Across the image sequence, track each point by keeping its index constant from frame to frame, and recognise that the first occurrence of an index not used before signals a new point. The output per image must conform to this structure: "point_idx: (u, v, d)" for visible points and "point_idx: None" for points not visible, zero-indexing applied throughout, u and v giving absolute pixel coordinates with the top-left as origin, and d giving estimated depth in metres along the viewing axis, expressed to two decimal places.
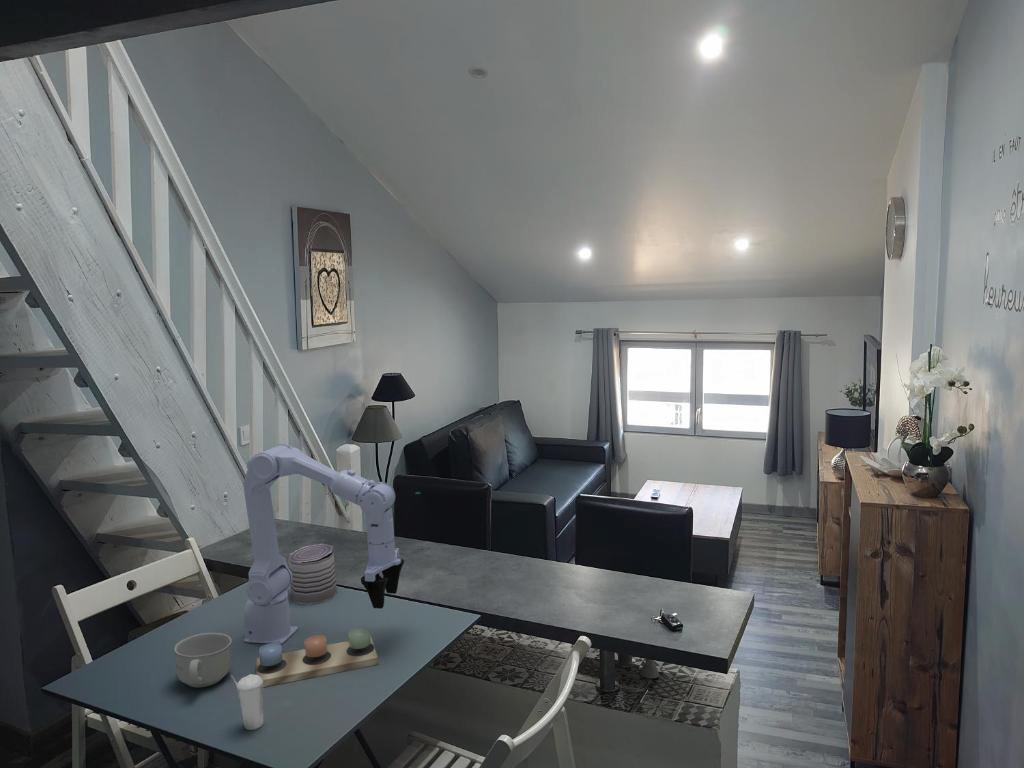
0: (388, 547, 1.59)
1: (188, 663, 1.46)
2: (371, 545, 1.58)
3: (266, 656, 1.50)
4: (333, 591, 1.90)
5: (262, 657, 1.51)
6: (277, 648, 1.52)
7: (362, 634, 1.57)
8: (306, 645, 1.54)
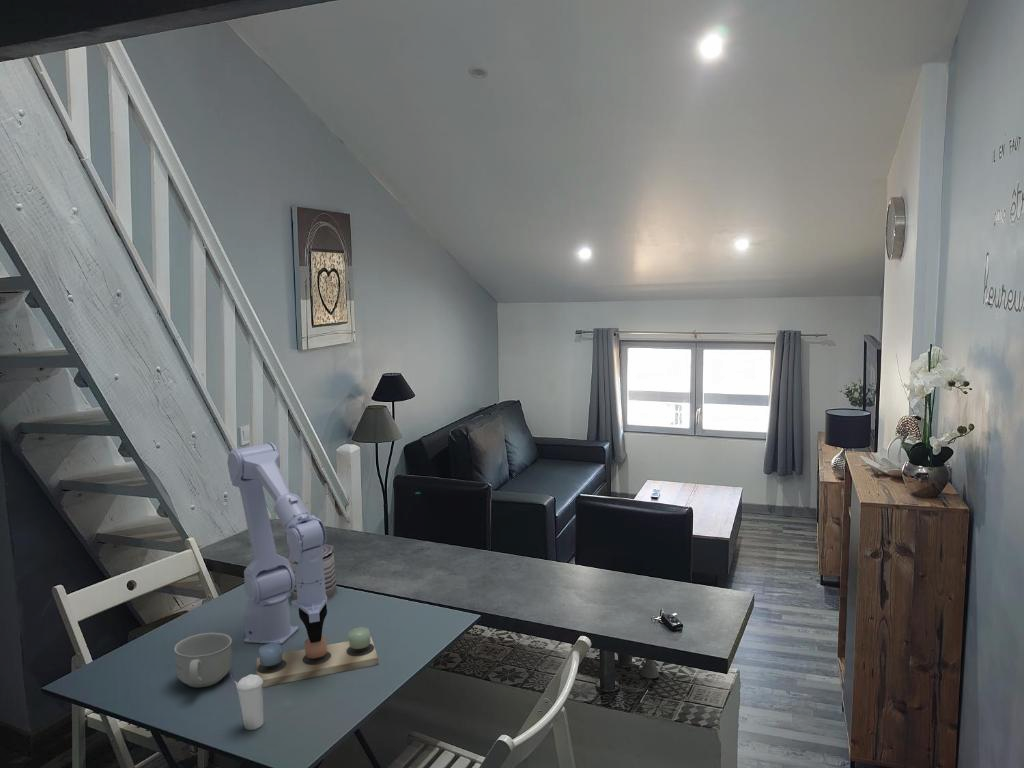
0: None
1: (188, 663, 1.46)
2: None
3: (266, 656, 1.50)
4: (333, 591, 1.90)
5: (262, 657, 1.51)
6: (277, 648, 1.52)
7: (362, 634, 1.57)
8: (306, 646, 1.54)
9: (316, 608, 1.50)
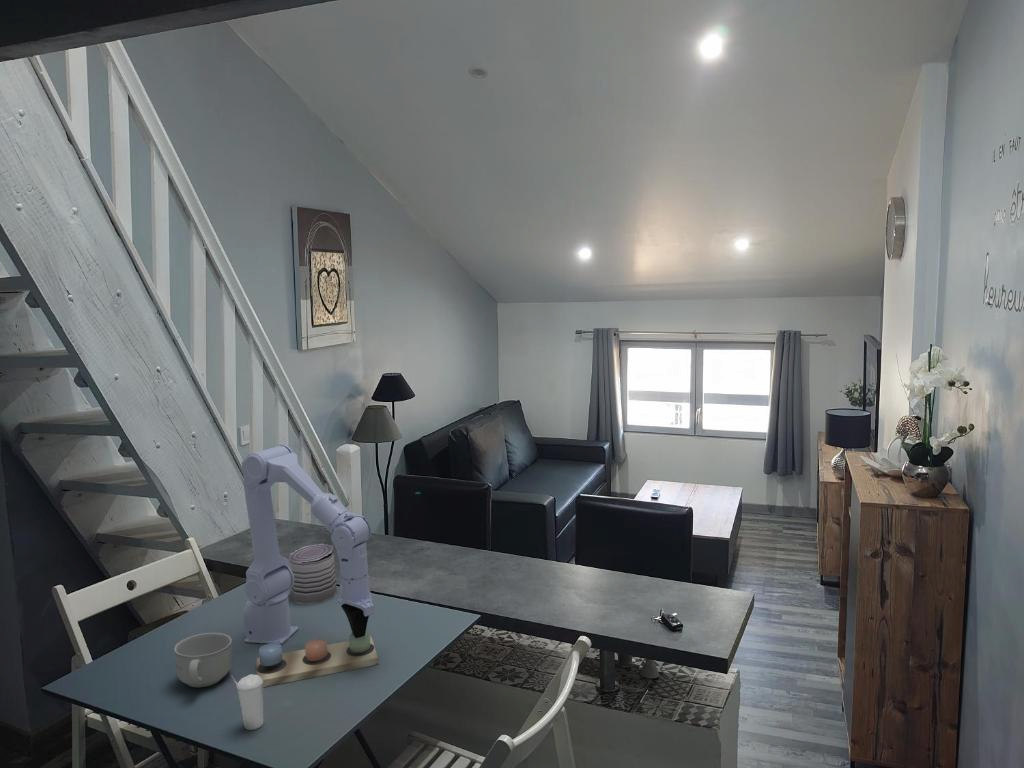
0: None
1: (188, 663, 1.46)
2: None
3: (266, 656, 1.50)
4: (333, 591, 1.90)
5: (262, 657, 1.51)
6: (277, 648, 1.52)
7: (362, 638, 1.57)
8: (306, 649, 1.54)
9: (367, 602, 1.53)
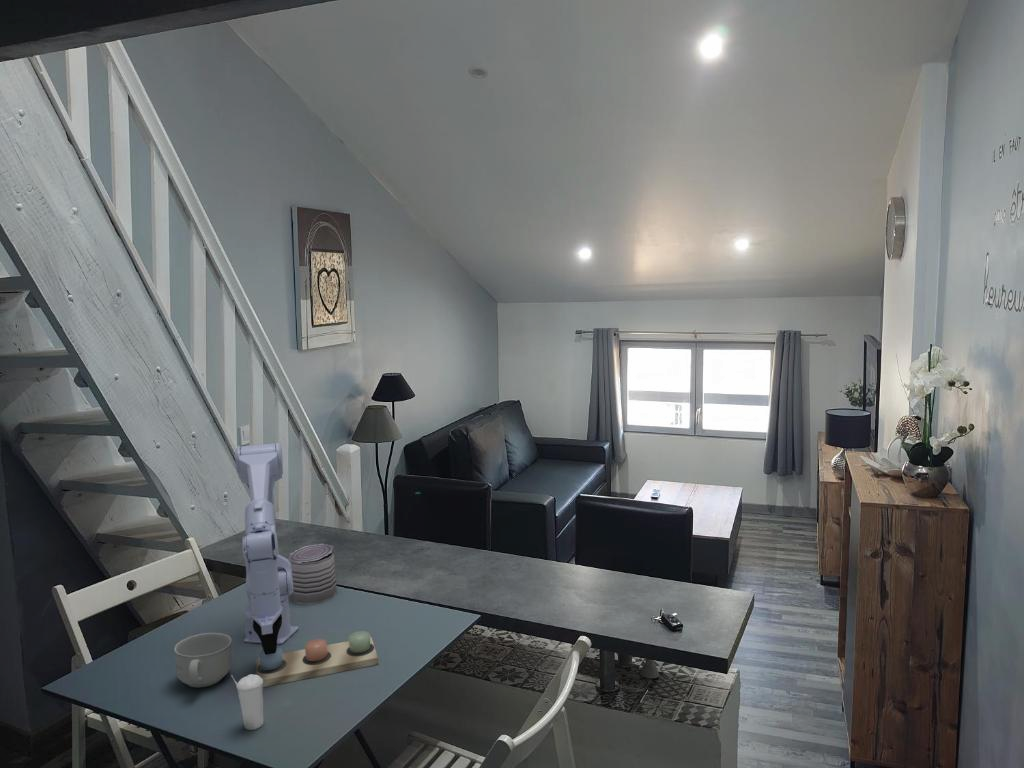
0: None
1: (188, 663, 1.46)
2: None
3: (266, 660, 1.50)
4: (333, 591, 1.90)
5: (262, 661, 1.51)
6: (278, 652, 1.52)
7: (362, 638, 1.57)
8: (306, 649, 1.54)
9: (269, 620, 1.47)
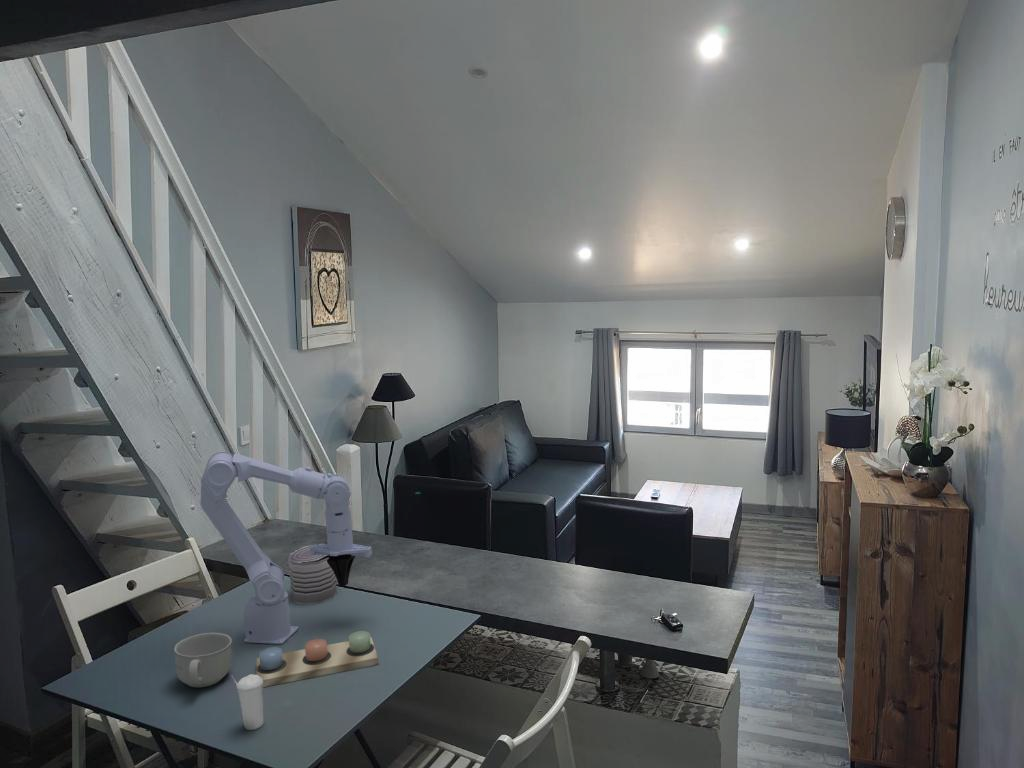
0: (328, 535, 1.70)
1: (188, 663, 1.46)
2: None
3: (266, 660, 1.50)
4: (333, 591, 1.90)
5: (262, 661, 1.51)
6: (278, 652, 1.52)
7: (362, 638, 1.57)
8: (306, 649, 1.54)
9: (360, 547, 1.72)
